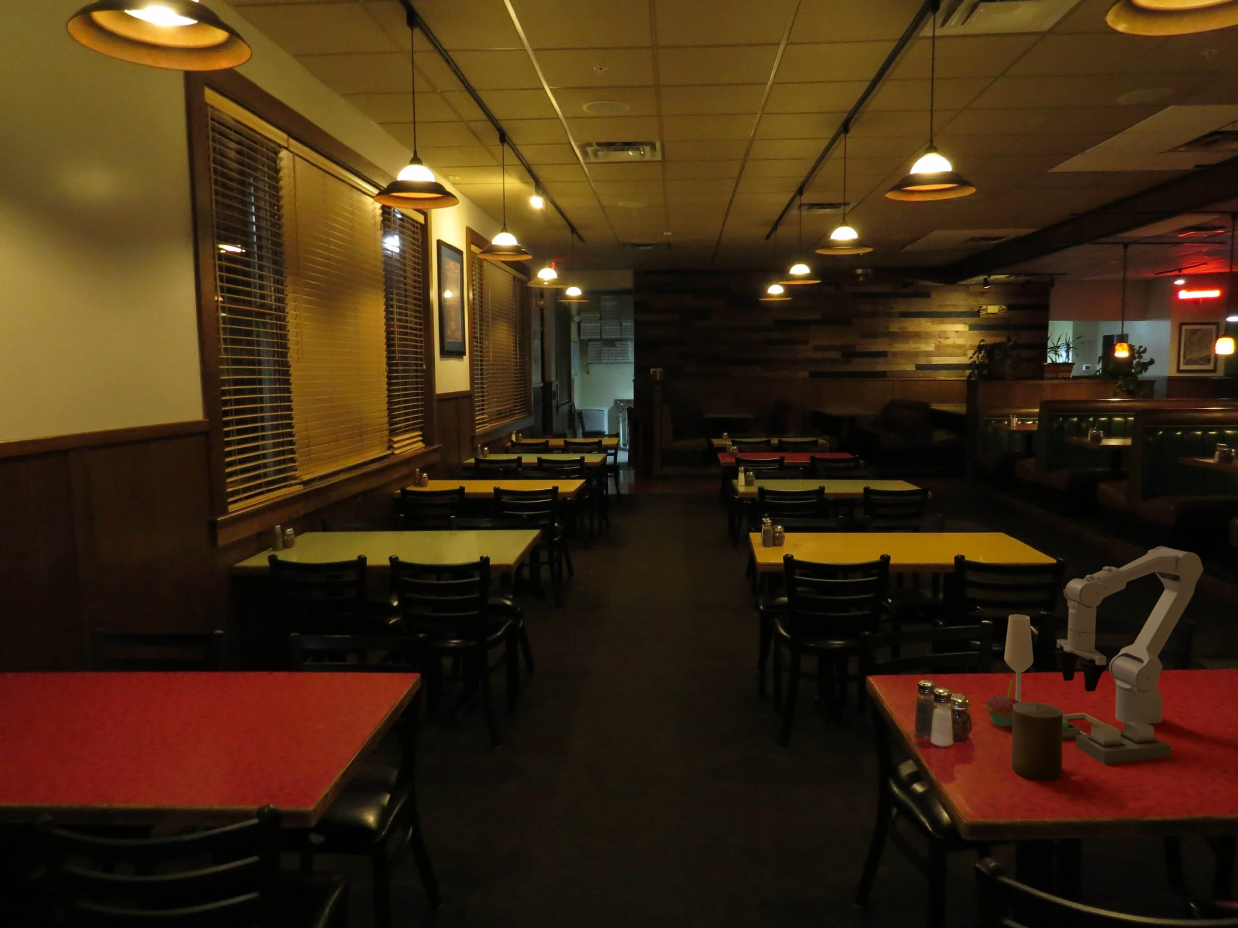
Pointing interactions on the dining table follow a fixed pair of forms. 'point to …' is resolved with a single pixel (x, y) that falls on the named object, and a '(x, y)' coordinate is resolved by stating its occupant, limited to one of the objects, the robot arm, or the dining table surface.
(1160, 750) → the grey holding fixture
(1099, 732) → the block
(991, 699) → the cupcake
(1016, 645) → the champagne flute
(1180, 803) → the dining table surface
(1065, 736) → the switch box
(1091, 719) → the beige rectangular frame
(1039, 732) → the pillar candle
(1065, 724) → the button
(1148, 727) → the seated billet
